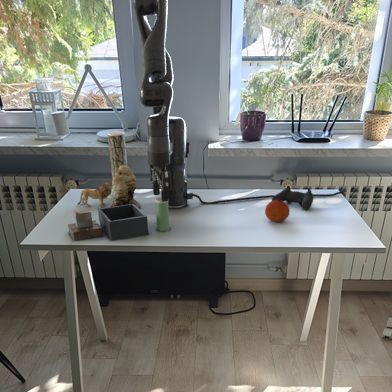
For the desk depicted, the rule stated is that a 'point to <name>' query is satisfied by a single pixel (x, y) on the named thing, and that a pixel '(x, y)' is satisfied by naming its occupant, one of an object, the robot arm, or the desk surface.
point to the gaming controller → (295, 197)
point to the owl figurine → (124, 187)
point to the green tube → (162, 214)
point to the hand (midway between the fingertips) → (160, 198)
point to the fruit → (277, 211)
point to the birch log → (117, 151)
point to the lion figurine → (96, 194)
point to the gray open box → (123, 221)
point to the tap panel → (85, 231)
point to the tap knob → (83, 218)
